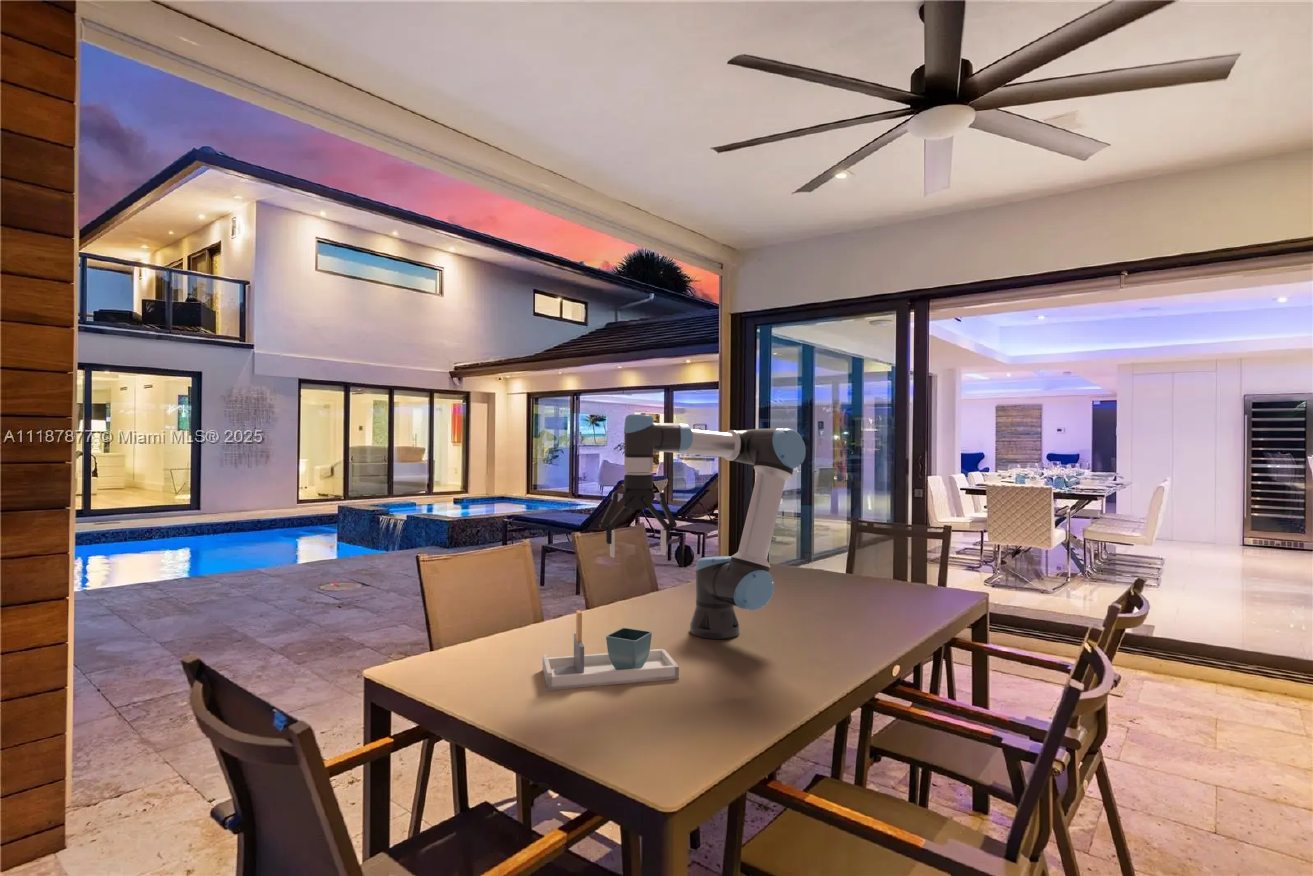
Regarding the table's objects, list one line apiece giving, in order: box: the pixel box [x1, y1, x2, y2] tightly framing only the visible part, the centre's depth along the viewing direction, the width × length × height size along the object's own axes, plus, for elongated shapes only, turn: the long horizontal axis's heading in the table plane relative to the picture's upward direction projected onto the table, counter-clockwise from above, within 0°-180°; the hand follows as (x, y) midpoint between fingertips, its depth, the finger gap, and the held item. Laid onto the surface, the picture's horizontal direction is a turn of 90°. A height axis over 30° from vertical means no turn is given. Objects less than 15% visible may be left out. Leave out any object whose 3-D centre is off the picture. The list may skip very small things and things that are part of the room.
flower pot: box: [605, 627, 653, 670], centre depth 163 cm, size 9×9×9 cm
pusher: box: [555, 609, 585, 675], centre depth 159 cm, size 6×11×15 cm, turn 15°
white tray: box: [542, 648, 680, 691], centre depth 161 cm, size 32×14×4 cm, turn 105°
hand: (638, 555), depth 168 cm, fingers open, 13 cm apart
